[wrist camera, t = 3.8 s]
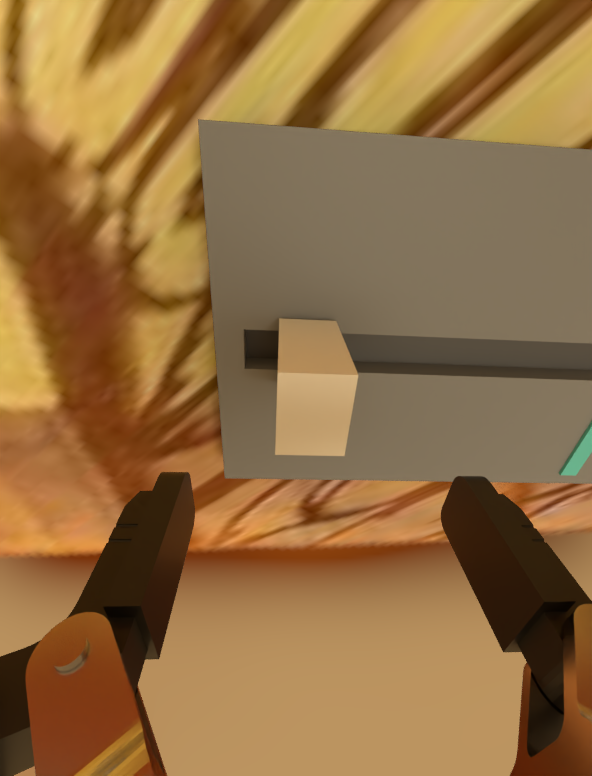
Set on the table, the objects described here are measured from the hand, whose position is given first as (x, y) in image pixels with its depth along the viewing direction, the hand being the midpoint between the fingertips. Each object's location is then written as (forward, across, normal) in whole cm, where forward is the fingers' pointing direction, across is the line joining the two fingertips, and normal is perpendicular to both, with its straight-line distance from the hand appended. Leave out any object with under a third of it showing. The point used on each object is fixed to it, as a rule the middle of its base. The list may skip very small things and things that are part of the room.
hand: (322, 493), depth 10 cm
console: (+12, -10, 0) cm, 16 cm away
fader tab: (+11, 0, 0) cm, 11 cm away
